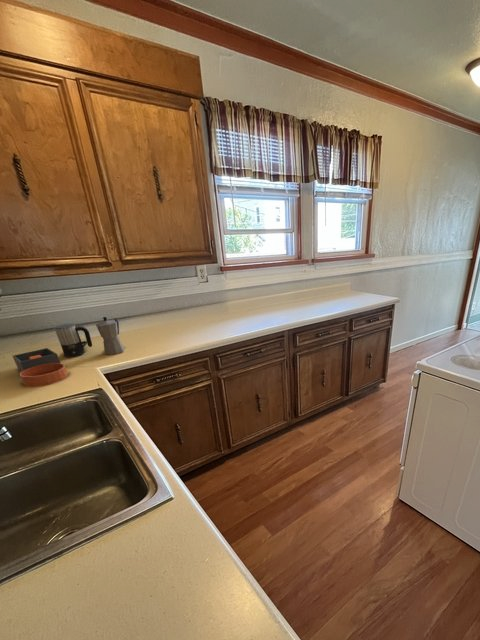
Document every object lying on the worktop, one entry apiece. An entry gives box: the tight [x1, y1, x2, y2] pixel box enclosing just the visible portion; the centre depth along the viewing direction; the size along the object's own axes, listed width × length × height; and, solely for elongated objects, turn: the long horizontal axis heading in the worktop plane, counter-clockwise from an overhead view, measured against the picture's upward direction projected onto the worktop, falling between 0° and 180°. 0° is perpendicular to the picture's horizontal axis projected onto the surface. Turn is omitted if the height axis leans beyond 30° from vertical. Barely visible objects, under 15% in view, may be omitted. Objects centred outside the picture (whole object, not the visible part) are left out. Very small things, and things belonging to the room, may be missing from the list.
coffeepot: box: [95, 316, 125, 356], centre depth 165 cm, size 15×9×18 cm, turn 174°
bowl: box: [19, 362, 69, 387], centre depth 135 cm, size 15×15×5 cm
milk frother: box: [52, 323, 93, 358], centre depth 166 cm, size 14×16×15 cm
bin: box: [12, 347, 61, 373], centre depth 145 cm, size 13×13×8 cm
